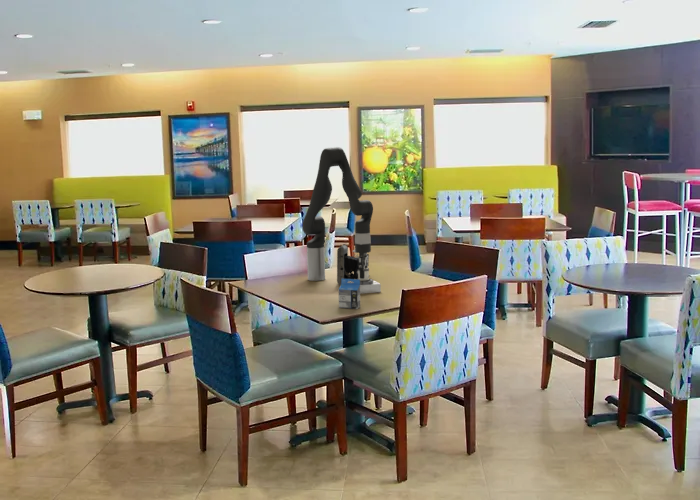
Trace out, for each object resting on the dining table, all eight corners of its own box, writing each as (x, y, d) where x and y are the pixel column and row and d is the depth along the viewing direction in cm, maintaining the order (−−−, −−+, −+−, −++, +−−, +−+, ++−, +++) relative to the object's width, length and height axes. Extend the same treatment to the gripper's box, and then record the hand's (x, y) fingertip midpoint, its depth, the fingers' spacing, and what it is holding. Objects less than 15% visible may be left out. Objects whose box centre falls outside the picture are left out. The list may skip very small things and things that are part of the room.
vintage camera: (366, 286, 355) (367, 247, 352) (336, 285, 358) (336, 246, 355) (369, 283, 364) (370, 245, 361) (340, 281, 367) (341, 243, 364)
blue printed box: (338, 308, 307) (337, 280, 305) (341, 306, 310) (340, 278, 309) (357, 309, 304) (357, 281, 302) (360, 307, 307) (360, 279, 305)
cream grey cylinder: (357, 283, 338) (356, 269, 337) (359, 281, 343) (359, 267, 342) (367, 283, 337) (367, 269, 336) (370, 281, 342) (369, 267, 341)
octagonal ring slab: (344, 291, 343) (344, 279, 342) (374, 288, 347) (374, 277, 346) (349, 294, 334) (349, 283, 334) (380, 292, 338) (380, 280, 338)
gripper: (358, 240, 345) (359, 274, 348) (351, 244, 331) (352, 279, 334) (373, 240, 343) (374, 274, 346) (367, 244, 330) (367, 280, 332)
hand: (363, 277), depth 340 cm, fingers open, 5 cm apart
